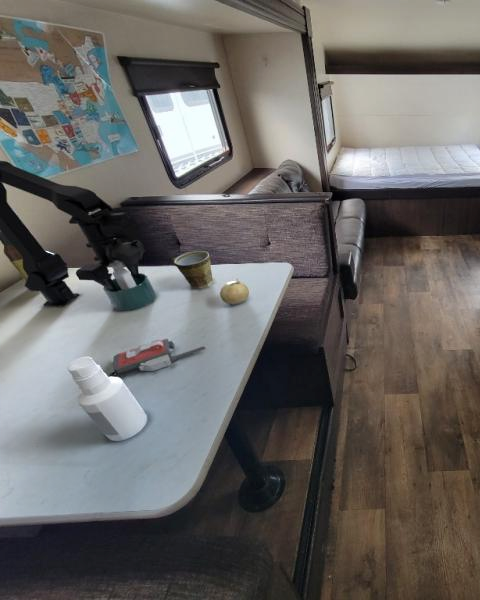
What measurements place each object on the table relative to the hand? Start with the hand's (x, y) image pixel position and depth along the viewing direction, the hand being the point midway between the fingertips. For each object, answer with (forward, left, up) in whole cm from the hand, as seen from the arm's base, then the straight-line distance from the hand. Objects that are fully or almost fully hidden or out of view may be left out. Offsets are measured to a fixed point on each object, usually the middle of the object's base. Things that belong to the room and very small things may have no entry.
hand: (126, 284), depth 102 cm
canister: (0, 0, -6) cm, 6 cm away
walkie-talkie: (+25, -24, -6) cm, 35 cm away
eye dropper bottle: (0, 0, -4) cm, 4 cm away
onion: (+32, +2, -6) cm, 33 cm away
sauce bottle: (-40, +8, -6) cm, 41 cm away
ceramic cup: (+14, +11, -6) cm, 19 cm away
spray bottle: (+31, -43, -6) cm, 53 cm away
